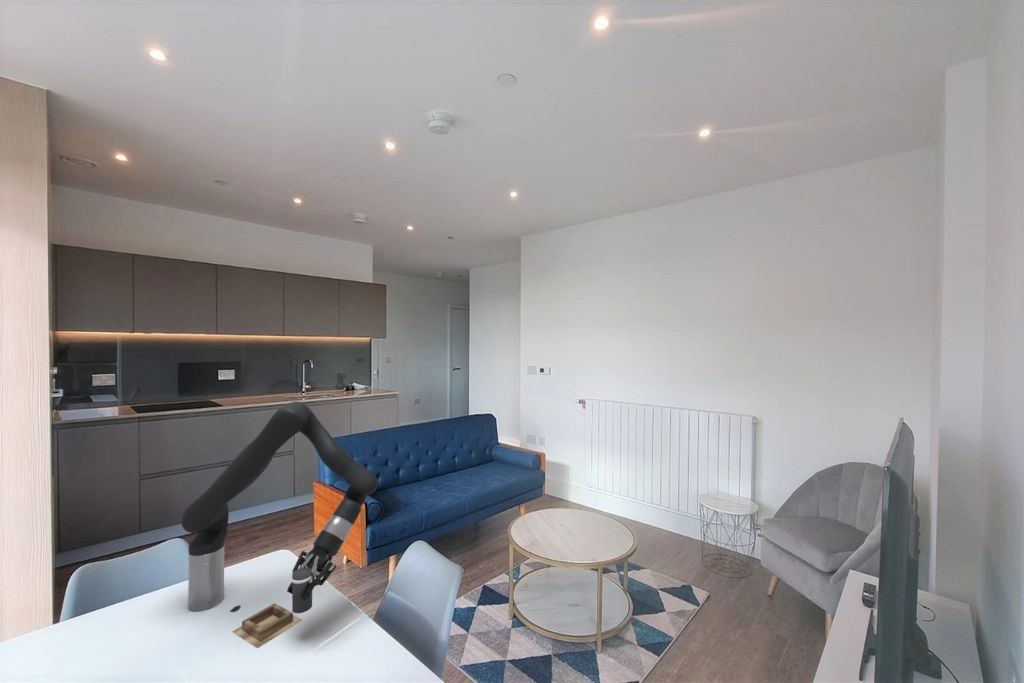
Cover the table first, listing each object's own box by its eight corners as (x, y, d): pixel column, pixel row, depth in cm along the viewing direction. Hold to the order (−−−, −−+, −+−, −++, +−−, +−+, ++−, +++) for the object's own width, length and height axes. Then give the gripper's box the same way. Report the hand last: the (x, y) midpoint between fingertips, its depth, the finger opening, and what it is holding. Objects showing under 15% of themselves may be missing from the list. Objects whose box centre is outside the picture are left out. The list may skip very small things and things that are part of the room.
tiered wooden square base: (231, 633, 117) (232, 622, 117) (276, 608, 128) (277, 598, 128) (257, 650, 110) (257, 638, 111) (302, 622, 122) (302, 611, 122)
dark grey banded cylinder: (287, 609, 114) (287, 574, 114) (305, 599, 118) (305, 565, 119) (299, 616, 111) (299, 579, 111) (316, 605, 116) (316, 569, 116)
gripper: (310, 524, 125) (271, 584, 114) (341, 535, 118) (302, 599, 107) (326, 534, 130) (289, 592, 119) (356, 545, 123) (320, 608, 112)
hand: (296, 595), depth 113 cm, fingers closed on dark grey banded cylinder, 5 cm apart
